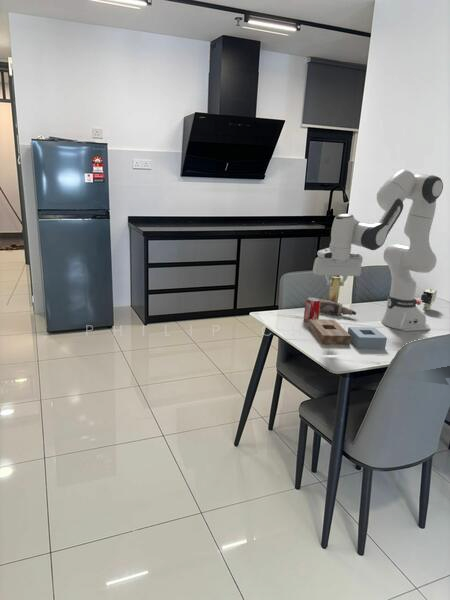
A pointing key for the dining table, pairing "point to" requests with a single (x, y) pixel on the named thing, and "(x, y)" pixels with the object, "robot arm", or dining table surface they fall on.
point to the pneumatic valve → (428, 298)
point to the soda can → (312, 309)
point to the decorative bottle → (334, 308)
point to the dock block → (367, 338)
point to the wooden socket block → (329, 332)
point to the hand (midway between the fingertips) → (335, 285)
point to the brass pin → (334, 289)
